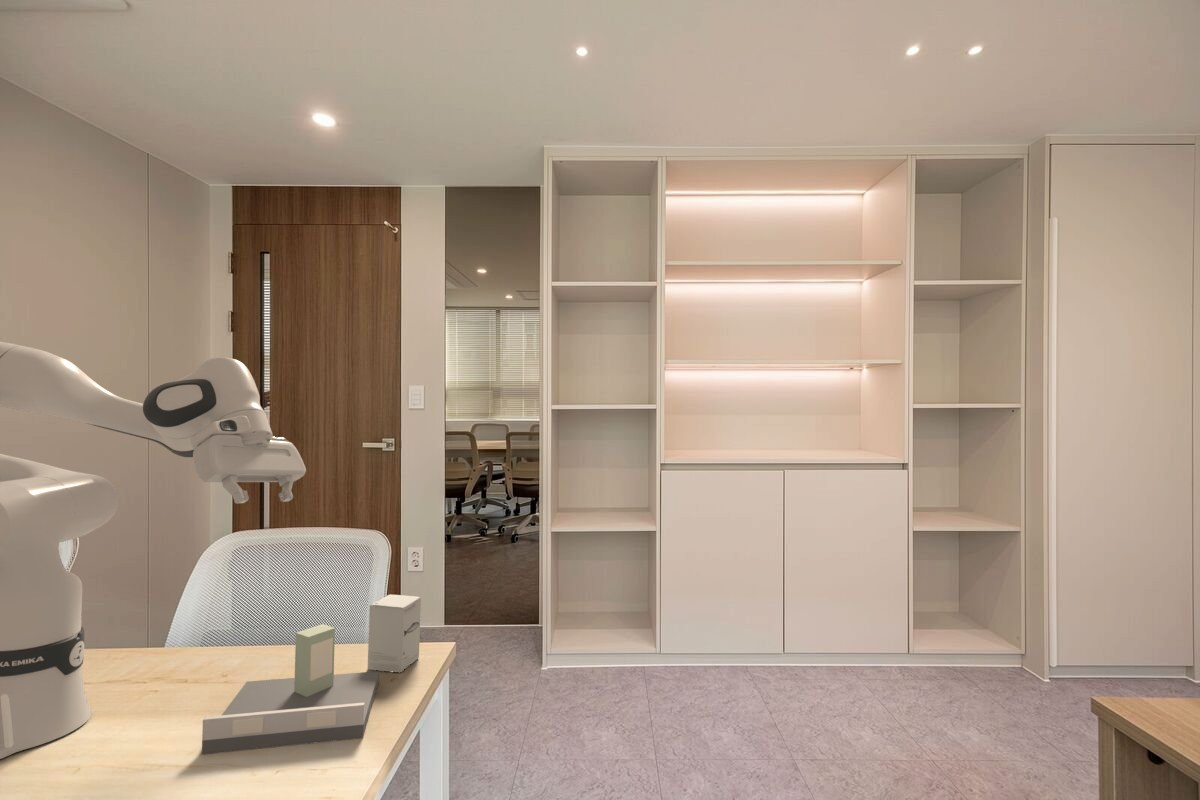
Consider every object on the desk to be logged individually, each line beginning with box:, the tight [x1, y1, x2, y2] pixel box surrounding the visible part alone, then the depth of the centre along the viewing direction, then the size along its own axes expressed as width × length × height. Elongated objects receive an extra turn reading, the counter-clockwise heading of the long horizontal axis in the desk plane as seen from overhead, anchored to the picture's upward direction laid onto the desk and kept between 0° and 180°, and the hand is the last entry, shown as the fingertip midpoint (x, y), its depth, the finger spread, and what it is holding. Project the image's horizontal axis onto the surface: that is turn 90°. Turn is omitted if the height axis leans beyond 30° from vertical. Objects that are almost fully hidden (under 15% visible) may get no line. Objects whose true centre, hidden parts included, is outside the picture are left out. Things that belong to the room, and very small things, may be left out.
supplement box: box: [366, 594, 422, 674], centre depth 118 cm, size 7×7×13 cm
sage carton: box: [294, 623, 336, 697], centre depth 103 cm, size 5×4×10 cm
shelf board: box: [201, 670, 380, 755], centre depth 98 cm, size 22×19×5 cm
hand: (265, 501), depth 108 cm, fingers open, 8 cm apart
